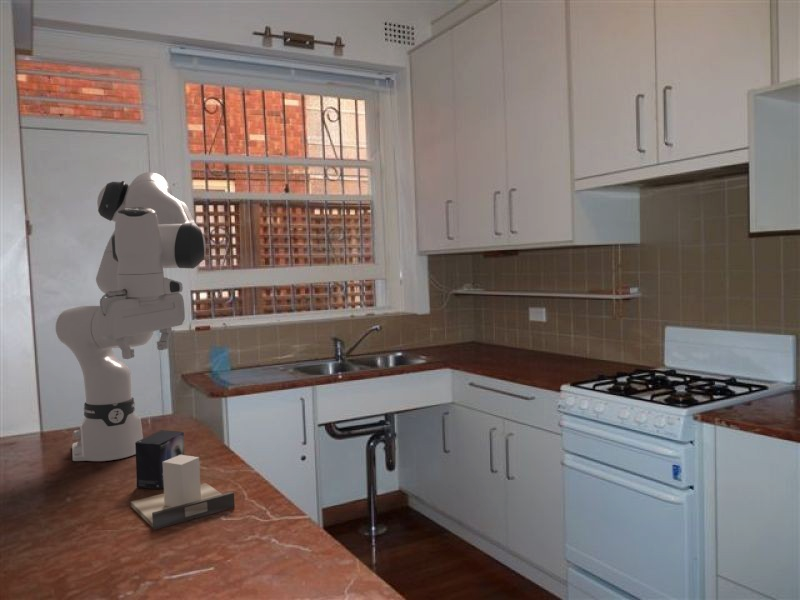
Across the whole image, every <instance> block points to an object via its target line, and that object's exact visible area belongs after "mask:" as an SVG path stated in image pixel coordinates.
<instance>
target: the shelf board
mask: <svg viewBox="0 0 800 600" xmlns="http://www.w3.org/2000/svg"><path fill="white" fill-rule="evenodd" d="M200 487H201V500H198V501H194V502H191V503H187V504H183V505H179V506H176V507H171V506H166V505H165V502H164V492H163V493H160V494H156V495H152V496H148V497H144V498H140V499H135V500H132V501H130V507H131V508H132V510H134V511H135V512H136V513H137V514H138V515H139V516H140V517H141V518H142V519H143V520H144V521H145V522H146V523H147V524H148V525H149V526H150V527H151V528H152V530H159V529H162V528H166V527H169V526H173V525H177V524H181V523H184V522H188V521H191V520H194V518H195V519H198V518H201V517H205V516H208V515H211V514H216V513H219V511H220V512H223V511H227V510H230V509H234V508H235V492H233V491H229V492H225V493H221V492H220V491H218V490H217V489H216V488H214V487H213V486H211V485H210V484H208V483H207V482H204V483H200ZM187 520H188V521H187Z"/></svg>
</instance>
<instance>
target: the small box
mask: <svg viewBox="0 0 800 600" xmlns="http://www.w3.org/2000/svg"><path fill="white" fill-rule="evenodd" d="M184 433H185V432H184V431H178V430H177V431H175V430H164V429H160V430H159V431H156V432H154V433H152V434H151V435H148V436H146V437H143V439H141V440H139V441H137V442H135V449H136V454H135V471H136V474H135V475H136V488H139V489H141V488H142V489H154V490H162V489H164V483H163V463H162V462H163V461H166V460H168V459H171V458H173V457H176V456H178V455H185V435H184Z"/></svg>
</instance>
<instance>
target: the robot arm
mask: <svg viewBox="0 0 800 600" xmlns="http://www.w3.org/2000/svg"><path fill="white" fill-rule="evenodd" d="M98 193H99V194H98V196H97V208H98V209H97V212H98V214H99V215H100V216H101V217H102V218H103V219H106V220H107V221H110V222H111V221H113V222H114V223H115V224H114V231H113V232H112V234H111V236H110V237H109V240H108V241H107V245H106V246H105V249H104V251H103V254H102V258H101V261H100V265H99V267H98V271H97V273H96V277H95V281H96V286H97V287H98V289H99V290H100V291H101V292H102V293H103V294H104V295H102V296H101V298H100V299H99V305H81V306H76V307H72V308H67V309H65V310H63V311H62V312H61V313H60V314H59V315H58V317H57V319H56V322H55V332H56V335H57V337H58V340H59V341H60V342H61V343H62V344H64V345H65V347H67V348H69V350H70V351H71V352H72V353H73V355H74V356H75V358H76V359H77V362H78V364H79V366H80V369H81V372H82V376H83V383H84V392H85V394H84V395H85V402H84V405H83V416H84V418H83V420H82V421H81V424H80V429H76V430H73V440H79V439H80V441H76V442H73V443H72V446H71V454H72V455H71V456H72V461H73V462H85V461H88V462H106V461H113V460H120V459H124V458H128V457H131V456H134V455H136V449H135V442H137V441H139V440H141V439H144V435H143V428H142V427H143V426H142V421H141V420H142V419H141V417H139V415H137V414H136V413H135V410H136V408H135V405H136V404H135V400H134V399H135V398H134V397H133V393H132V392H133V391H132V376H131V375H132V374H131V373H132V372H131V369H130V368H129V367H128V365H127V364H125V363H124V362H122V361H121V360H119V359H118V358H117V356H116V355H115V352H114V350H113V349H120V350H121V357H122V359H124V360H129V359H133V358H134V357H135V349H134V348H135V347H140V346H144V345H146V344H148V342H149V341H150V340H151V339H152V337H153V335H154V332H157V331H159V333H160V337H159V341H156V349H157V350H158V351H164V350H168V349H169V340H170V338H171V336H172V332H173V330H172V328H175V327H179V326H182V325H183V324H184V322H185V319H186V315H185V314H186V311H185V300H184V297H183V295H182V294H181V293H182V292H183V283H182V282H181V281H177V280H174V279H171V278H168V277H165V274H164V273H165V272H164V269H175V268H179V269H195V268H197V267H198V266H199V265H200V264H201V263H202V262H203V261H204V259H205V256H206V253H207V252H206V251H207V250H206V249H207V246H206V245H207V244H206V238H205V236H204V233H203V232H202V229H201V228H200V227H199V226H198V224H197V223H196V220H195V218H194V217H193V214H192V212H191V210H190V209H189V207H188V205H187V204H186V203H185V202H184V201H182V200H180V199H178V198H176V197H174V196H173V192H172V188H171V186H170V184H169V183H168V181H167V179H166V178H165V177H163V176H162V175H161V174H159V173H155V172H150V171H147V172H143V173H140V174H138V175H137V176H136V177H135V178H134V179H133V180H132V181H131V183H130V184H129V183H127V182H125V180H121V181H111V182H108V183H106V185H105V186H104V187H103V188H101V190H100V192H98Z"/></svg>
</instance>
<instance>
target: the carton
mask: <svg viewBox="0 0 800 600" xmlns="http://www.w3.org/2000/svg"><path fill="white" fill-rule="evenodd" d="M162 463H163V483H164V487H163V493H164V502H165V505H166V506H171V507H176V506H179V505H183V504H187V503H191V502H194V501H198V500H201V487H200V484H201V471H200V457H199V456H193V455H186V454H184V455H178V456H176V457H173V458H171V459H168V460H166V461H163V462H162Z"/></svg>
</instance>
